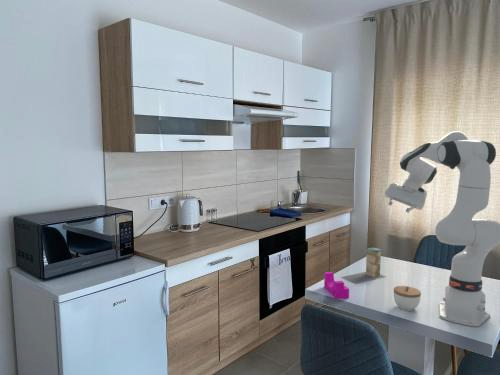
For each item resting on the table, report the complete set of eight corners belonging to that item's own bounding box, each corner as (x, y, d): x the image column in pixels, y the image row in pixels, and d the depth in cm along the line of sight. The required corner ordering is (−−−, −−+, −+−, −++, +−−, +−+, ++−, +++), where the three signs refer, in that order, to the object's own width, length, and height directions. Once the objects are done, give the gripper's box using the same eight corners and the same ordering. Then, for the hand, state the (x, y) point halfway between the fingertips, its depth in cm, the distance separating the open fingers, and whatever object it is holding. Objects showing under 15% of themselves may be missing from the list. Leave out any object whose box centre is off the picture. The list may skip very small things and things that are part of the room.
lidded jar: (392, 301, 168) (393, 280, 167) (418, 304, 165) (420, 283, 164) (393, 310, 158) (394, 289, 157) (421, 314, 155) (422, 292, 154)
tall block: (372, 272, 205) (373, 247, 204) (379, 275, 201) (381, 249, 199) (365, 274, 203) (367, 248, 201) (373, 277, 198) (374, 250, 197)
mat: (370, 271, 209) (370, 270, 208) (386, 277, 199) (386, 276, 199) (340, 278, 198) (340, 277, 198) (355, 284, 188) (355, 283, 188)
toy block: (348, 298, 171) (349, 282, 171) (335, 299, 170) (336, 283, 170) (336, 286, 186) (336, 271, 185) (324, 287, 185) (324, 272, 184)
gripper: (391, 178, 206) (379, 197, 201) (429, 192, 194) (417, 212, 190) (391, 185, 211) (379, 203, 206) (428, 199, 199) (417, 219, 194)
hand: (398, 208), depth 198 cm, fingers open, 8 cm apart
